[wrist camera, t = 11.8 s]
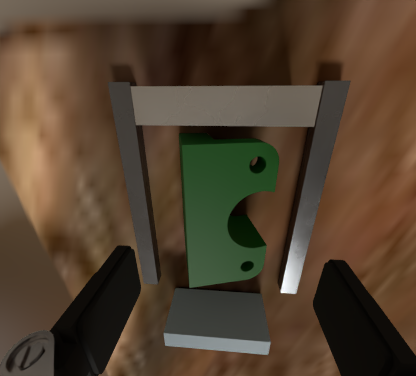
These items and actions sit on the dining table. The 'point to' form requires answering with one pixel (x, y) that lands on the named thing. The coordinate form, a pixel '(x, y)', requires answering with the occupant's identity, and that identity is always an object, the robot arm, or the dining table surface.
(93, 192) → the dining table surface
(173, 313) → the block
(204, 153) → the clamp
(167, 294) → the dining table surface
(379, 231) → the dining table surface
